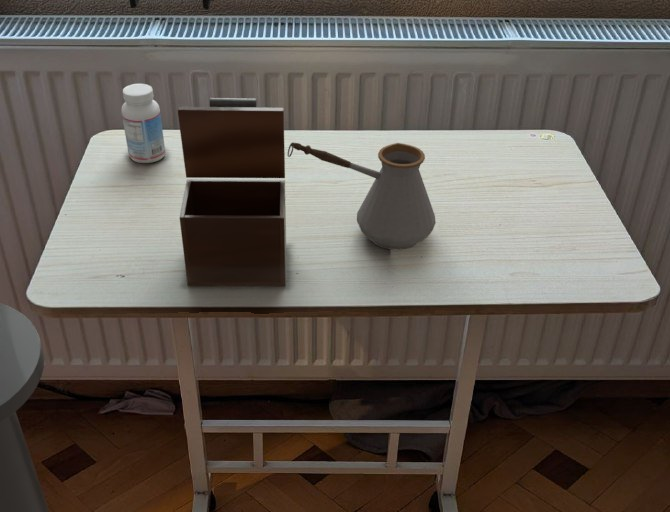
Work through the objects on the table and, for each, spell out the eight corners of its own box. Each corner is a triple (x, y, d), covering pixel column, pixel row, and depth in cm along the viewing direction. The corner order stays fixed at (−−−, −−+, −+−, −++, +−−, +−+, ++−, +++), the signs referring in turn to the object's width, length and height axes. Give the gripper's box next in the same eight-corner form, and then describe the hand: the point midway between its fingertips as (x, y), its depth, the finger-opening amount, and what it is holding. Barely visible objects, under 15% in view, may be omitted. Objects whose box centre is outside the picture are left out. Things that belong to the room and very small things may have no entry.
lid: (283, 111, 104) (283, 88, 107) (177, 109, 103) (181, 87, 107) (285, 178, 112) (285, 155, 115) (186, 177, 111) (189, 154, 115)
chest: (285, 286, 113) (284, 217, 105) (187, 286, 112) (179, 217, 105) (286, 246, 120) (285, 179, 112) (193, 246, 119) (186, 179, 112)
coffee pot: (426, 213, 127) (436, 119, 117) (440, 256, 119) (453, 159, 108) (286, 217, 125) (284, 122, 115) (291, 261, 117) (289, 163, 106)
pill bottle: (161, 144, 141) (153, 79, 133) (169, 161, 137) (161, 94, 129) (125, 150, 139) (114, 84, 131) (132, 167, 135) (121, 99, 127)
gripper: (75, -139, 97) (101, 14, 109) (224, -136, 97) (233, 16, 109) (88, -153, 102) (111, -6, 114) (229, -150, 103) (237, -4, 114)
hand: (171, 5), depth 112 cm, fingers open, 9 cm apart
